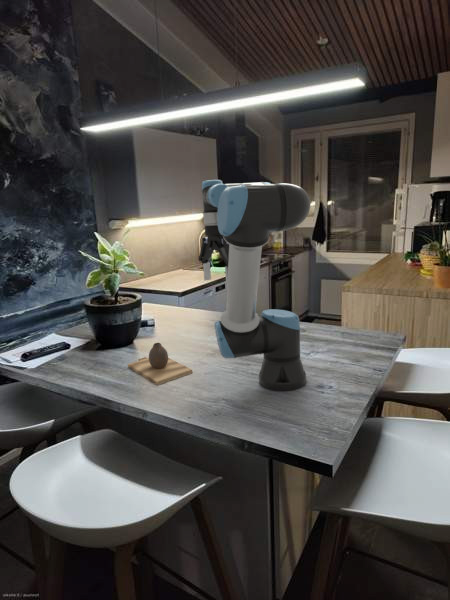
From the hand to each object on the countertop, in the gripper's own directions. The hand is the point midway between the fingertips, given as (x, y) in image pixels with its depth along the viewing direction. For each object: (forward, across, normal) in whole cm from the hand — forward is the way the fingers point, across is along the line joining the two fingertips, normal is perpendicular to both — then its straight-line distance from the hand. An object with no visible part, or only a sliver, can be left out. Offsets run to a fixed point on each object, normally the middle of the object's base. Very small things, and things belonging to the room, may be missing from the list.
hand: (218, 281), depth 153 cm
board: (+29, +5, +26) cm, 39 cm away
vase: (+28, +4, +26) cm, 38 cm away
